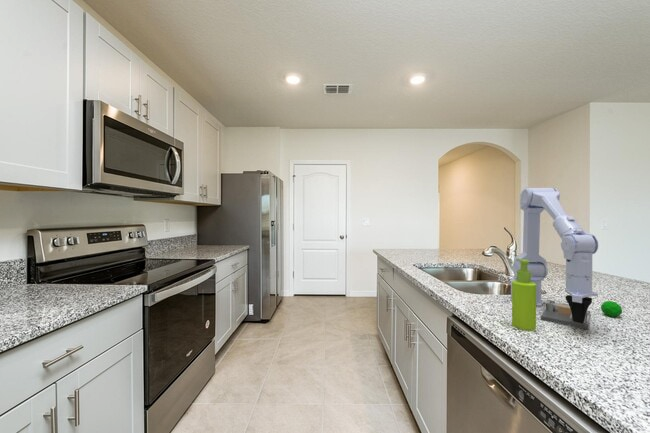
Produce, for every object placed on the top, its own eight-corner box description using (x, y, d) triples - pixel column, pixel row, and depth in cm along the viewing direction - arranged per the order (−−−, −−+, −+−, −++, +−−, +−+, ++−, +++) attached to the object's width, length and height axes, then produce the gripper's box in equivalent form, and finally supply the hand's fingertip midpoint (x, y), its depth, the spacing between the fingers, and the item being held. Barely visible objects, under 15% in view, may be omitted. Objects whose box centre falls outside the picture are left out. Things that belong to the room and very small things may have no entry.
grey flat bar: (550, 306, 94) (550, 304, 94) (551, 304, 96) (551, 302, 96) (587, 313, 88) (587, 311, 88) (587, 311, 90) (587, 308, 90)
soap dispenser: (530, 323, 86) (530, 258, 86) (539, 331, 80) (539, 261, 80) (508, 320, 88) (508, 257, 88) (515, 329, 82) (515, 260, 82)
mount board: (540, 319, 89) (540, 307, 89) (548, 306, 102) (548, 296, 102) (588, 329, 81) (588, 316, 81) (590, 314, 94) (590, 303, 94)
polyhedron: (597, 314, 94) (597, 300, 94) (605, 312, 96) (605, 298, 96) (617, 319, 89) (617, 304, 89) (625, 317, 91) (625, 303, 91)
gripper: (597, 281, 74) (597, 333, 74) (598, 273, 84) (598, 319, 84) (562, 277, 78) (562, 325, 79) (567, 270, 89) (567, 313, 89)
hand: (578, 322), depth 82 cm, fingers closed
